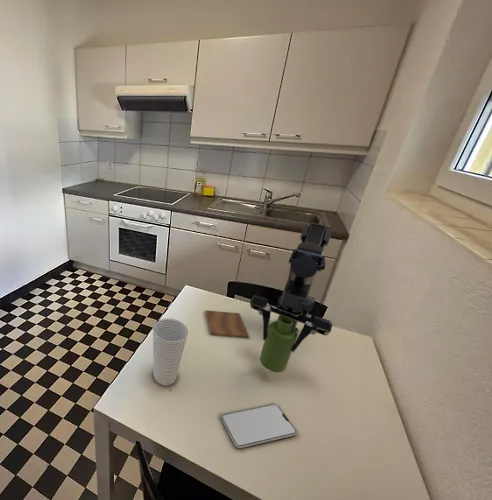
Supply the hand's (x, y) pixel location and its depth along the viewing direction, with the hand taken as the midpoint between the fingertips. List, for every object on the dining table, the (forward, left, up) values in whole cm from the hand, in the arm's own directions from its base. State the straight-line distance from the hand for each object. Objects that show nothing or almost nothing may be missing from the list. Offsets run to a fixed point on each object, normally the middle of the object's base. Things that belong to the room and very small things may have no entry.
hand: (277, 345), depth 70 cm
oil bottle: (-1, 0, -7) cm, 7 cm away
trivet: (-12, -19, -11) cm, 25 cm away
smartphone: (+15, +4, -11) cm, 19 cm away
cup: (+20, -19, -11) cm, 30 cm away
